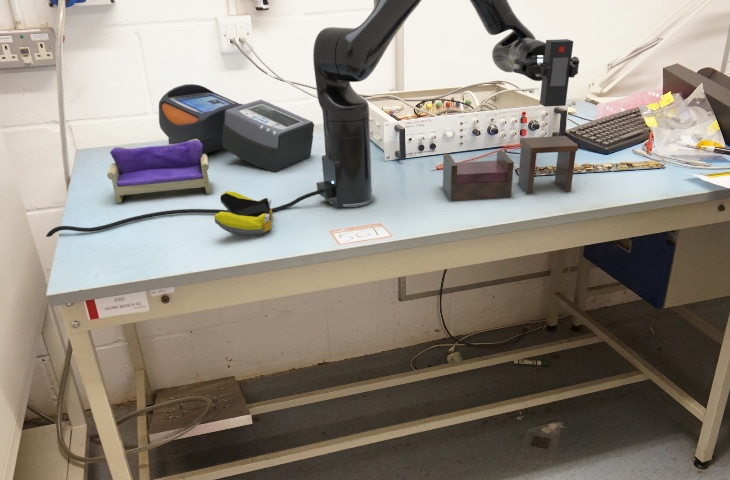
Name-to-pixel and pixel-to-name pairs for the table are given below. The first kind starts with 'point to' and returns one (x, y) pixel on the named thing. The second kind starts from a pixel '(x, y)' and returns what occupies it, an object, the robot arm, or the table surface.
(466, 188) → the cushioned bench
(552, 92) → the slim remote
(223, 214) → the yellow bananas
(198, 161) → the toy sofa
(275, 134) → the diagnostic device
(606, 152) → the table surface
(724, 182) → the table surface
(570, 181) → the walnut shelf
